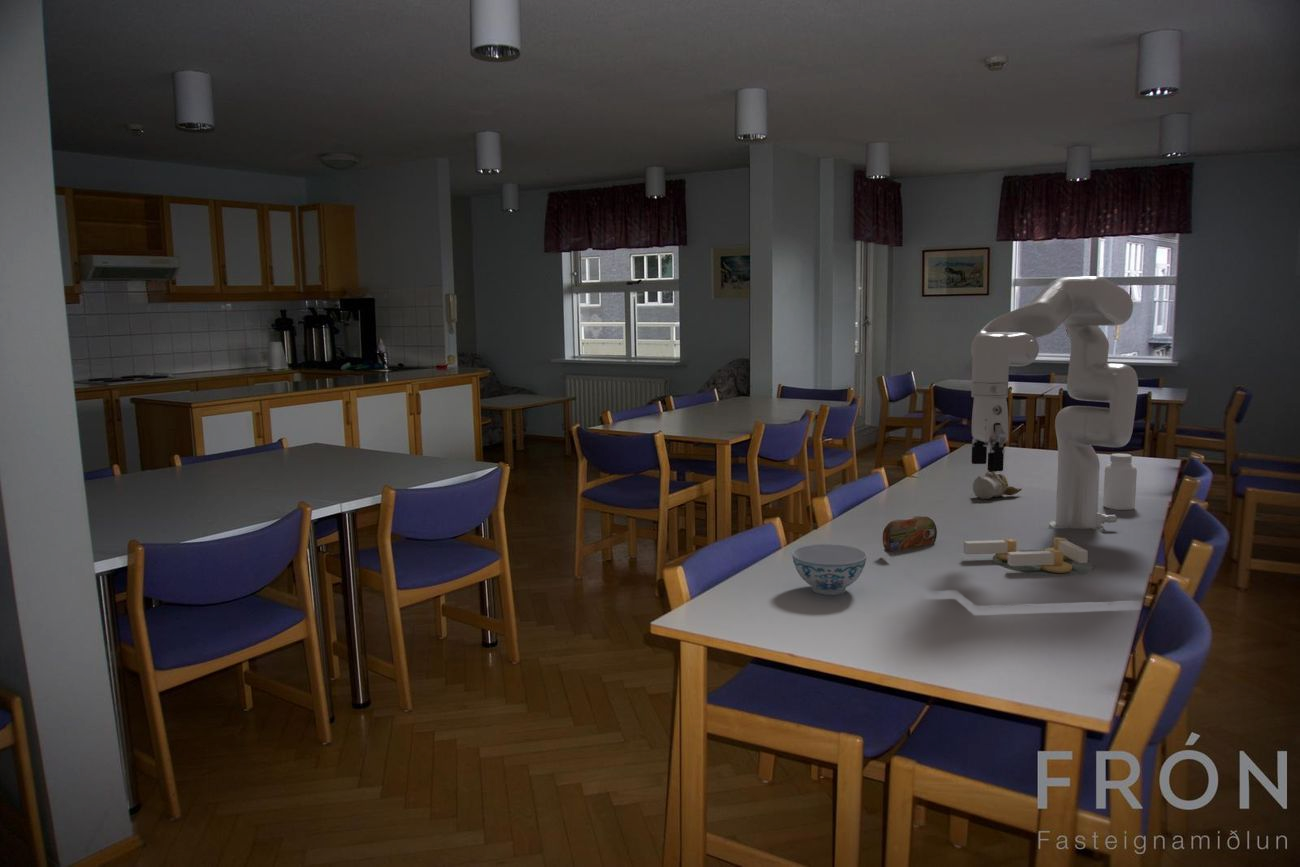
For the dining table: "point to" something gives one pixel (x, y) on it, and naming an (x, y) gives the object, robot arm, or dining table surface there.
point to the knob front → (1041, 560)
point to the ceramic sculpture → (992, 486)
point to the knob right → (1070, 550)
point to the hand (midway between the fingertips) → (986, 467)
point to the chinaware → (829, 566)
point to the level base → (1036, 569)
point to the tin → (909, 533)
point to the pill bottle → (1120, 483)
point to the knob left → (991, 547)
